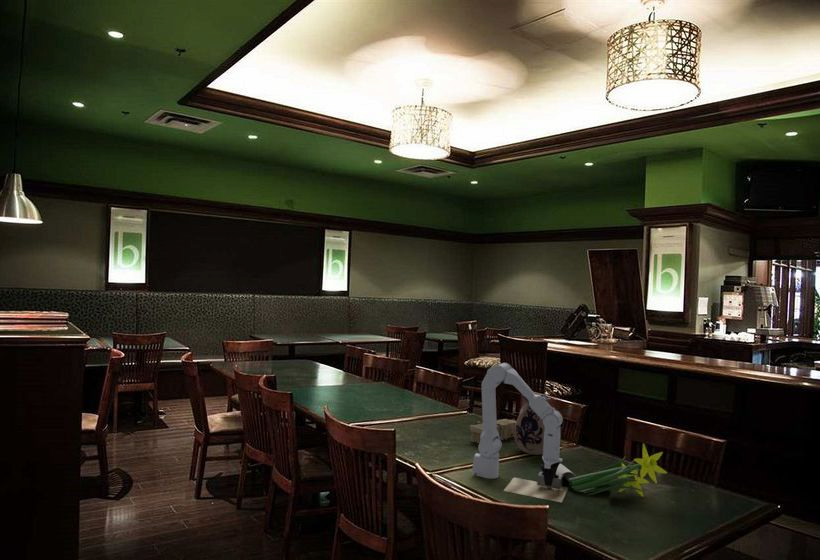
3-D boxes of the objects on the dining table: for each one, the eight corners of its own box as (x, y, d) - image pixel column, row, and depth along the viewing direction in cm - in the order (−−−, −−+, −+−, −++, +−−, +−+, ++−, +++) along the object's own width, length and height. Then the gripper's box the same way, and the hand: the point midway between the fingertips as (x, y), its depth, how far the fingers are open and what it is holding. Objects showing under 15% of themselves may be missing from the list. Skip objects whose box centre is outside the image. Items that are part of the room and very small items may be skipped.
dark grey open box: (537, 485, 198) (537, 475, 198) (539, 480, 203) (540, 471, 203) (560, 489, 195) (560, 479, 195) (562, 485, 200) (562, 475, 200)
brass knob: (546, 489, 199) (546, 478, 199) (547, 487, 200) (547, 477, 200) (551, 490, 198) (551, 479, 198) (552, 488, 199) (552, 478, 199)
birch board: (503, 494, 194) (503, 490, 195) (513, 481, 209) (513, 477, 209) (561, 507, 186) (561, 502, 186) (568, 492, 201) (568, 487, 201)
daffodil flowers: (561, 486, 209) (646, 463, 213) (579, 520, 197) (669, 495, 201) (563, 457, 200) (652, 434, 204) (582, 491, 188) (676, 465, 192)
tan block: (505, 435, 281) (468, 442, 260) (506, 418, 281) (469, 424, 261) (518, 438, 275) (481, 446, 255) (519, 421, 275) (482, 427, 255)
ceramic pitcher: (508, 453, 246) (511, 396, 246) (521, 442, 264) (524, 390, 264) (547, 460, 237) (550, 402, 238) (558, 449, 256) (561, 395, 256)
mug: (545, 474, 214) (555, 484, 202) (554, 459, 215) (565, 468, 203) (567, 487, 214) (578, 498, 202) (576, 472, 215) (588, 482, 203)
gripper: (559, 452, 191) (557, 491, 191) (565, 442, 204) (563, 479, 204) (539, 448, 194) (537, 487, 194) (546, 439, 207) (544, 475, 207)
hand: (549, 483), depth 199 cm, fingers closed on dark grey open box, 5 cm apart
